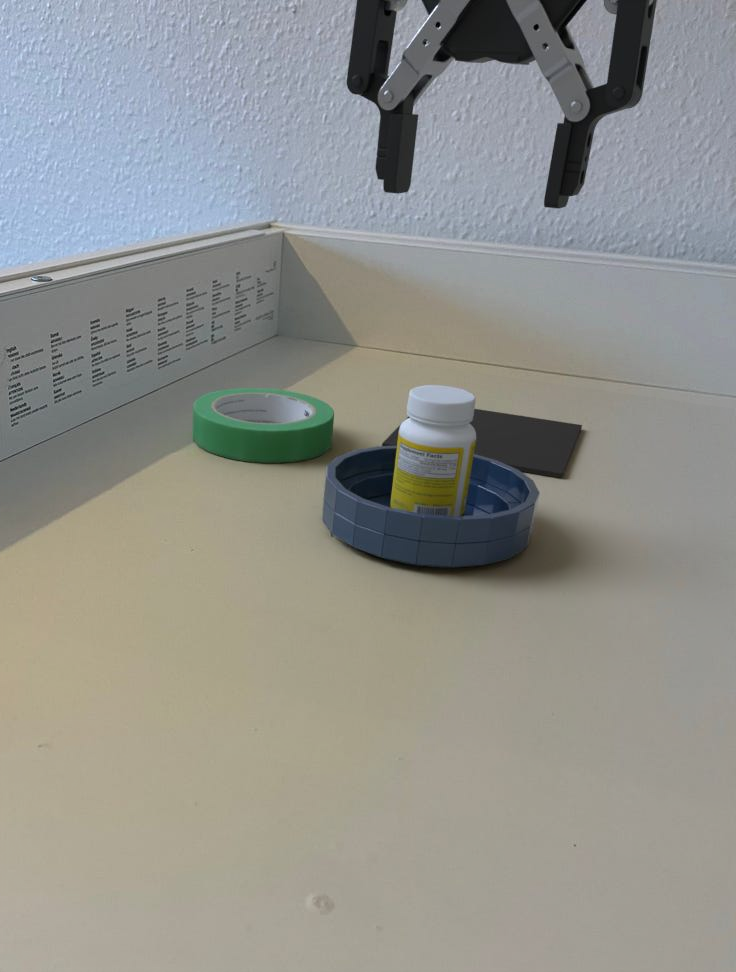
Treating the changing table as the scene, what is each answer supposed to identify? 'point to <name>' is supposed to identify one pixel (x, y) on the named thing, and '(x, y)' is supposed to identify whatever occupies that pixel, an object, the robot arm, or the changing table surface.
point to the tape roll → (262, 425)
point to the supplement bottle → (435, 452)
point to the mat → (520, 441)
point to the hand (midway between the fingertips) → (472, 199)
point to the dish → (425, 537)
